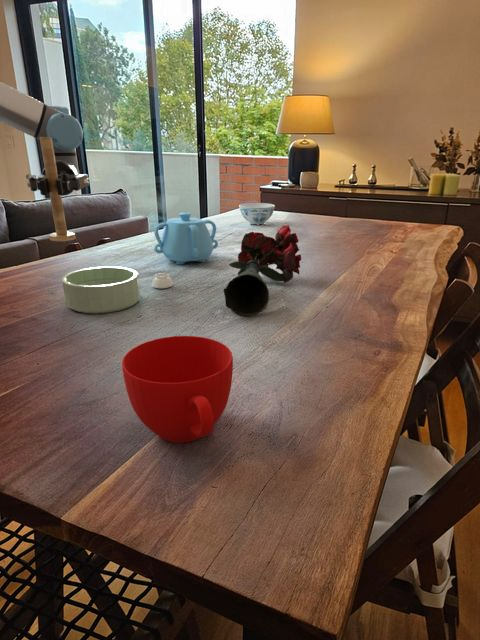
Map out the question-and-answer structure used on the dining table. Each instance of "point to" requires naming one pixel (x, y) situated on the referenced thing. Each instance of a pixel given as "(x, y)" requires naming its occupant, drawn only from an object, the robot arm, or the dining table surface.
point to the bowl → (101, 289)
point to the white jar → (162, 281)
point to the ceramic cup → (179, 385)
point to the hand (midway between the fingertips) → (51, 187)
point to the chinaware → (256, 212)
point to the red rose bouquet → (261, 269)
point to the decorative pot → (186, 239)
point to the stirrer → (54, 192)
